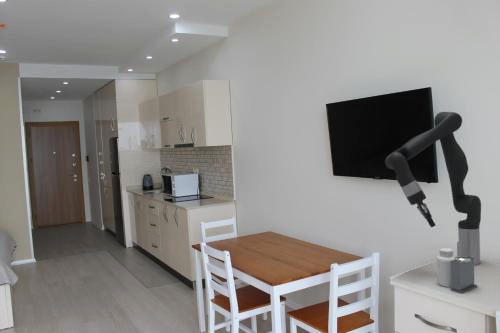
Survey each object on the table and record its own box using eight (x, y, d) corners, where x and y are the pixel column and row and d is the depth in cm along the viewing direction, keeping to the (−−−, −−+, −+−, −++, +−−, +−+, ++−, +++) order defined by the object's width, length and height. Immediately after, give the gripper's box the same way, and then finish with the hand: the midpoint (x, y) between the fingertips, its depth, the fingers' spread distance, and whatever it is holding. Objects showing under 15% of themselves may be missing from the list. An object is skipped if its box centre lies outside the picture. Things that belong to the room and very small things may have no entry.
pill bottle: (433, 283, 185) (432, 249, 184) (445, 279, 189) (445, 246, 188) (449, 288, 178) (448, 253, 177) (462, 284, 182) (461, 249, 181)
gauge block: (448, 289, 177) (447, 258, 176) (463, 283, 183) (462, 253, 183) (462, 293, 172) (461, 261, 171) (477, 286, 178) (476, 256, 178)
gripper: (423, 189, 188) (444, 224, 187) (418, 187, 201) (438, 220, 200) (407, 197, 190) (428, 232, 188) (403, 195, 203) (423, 228, 201)
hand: (433, 226), depth 194 cm, fingers closed
